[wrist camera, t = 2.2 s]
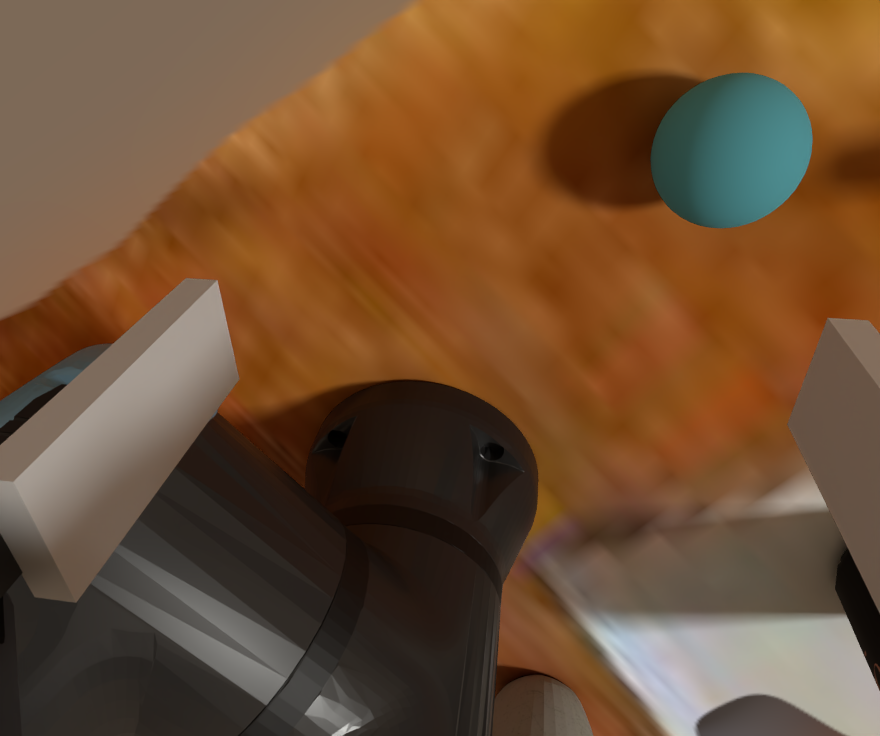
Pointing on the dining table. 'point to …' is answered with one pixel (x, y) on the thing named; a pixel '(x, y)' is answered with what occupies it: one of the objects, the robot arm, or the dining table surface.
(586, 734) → the bowling pin
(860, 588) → the coffee jar
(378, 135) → the dining table surface
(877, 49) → the dining table surface
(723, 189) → the ball
